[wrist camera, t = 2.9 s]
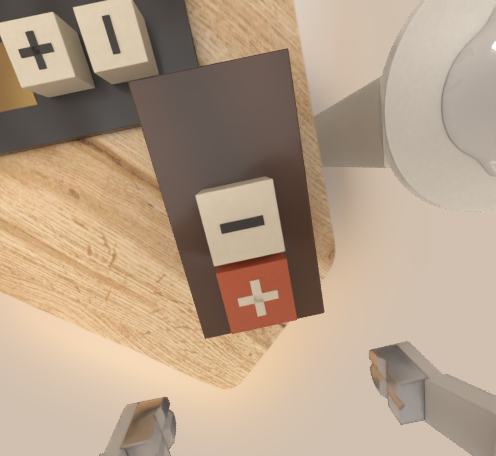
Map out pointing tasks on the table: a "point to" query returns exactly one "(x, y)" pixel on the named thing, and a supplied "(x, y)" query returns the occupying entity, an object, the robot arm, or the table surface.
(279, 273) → the red plus sign cube
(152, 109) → the dark brown block stand
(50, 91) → the cream math cube
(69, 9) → the dark grey board
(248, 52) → the table surface
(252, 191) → the slotted cream cube
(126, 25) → the minus sign block
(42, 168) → the table surface
